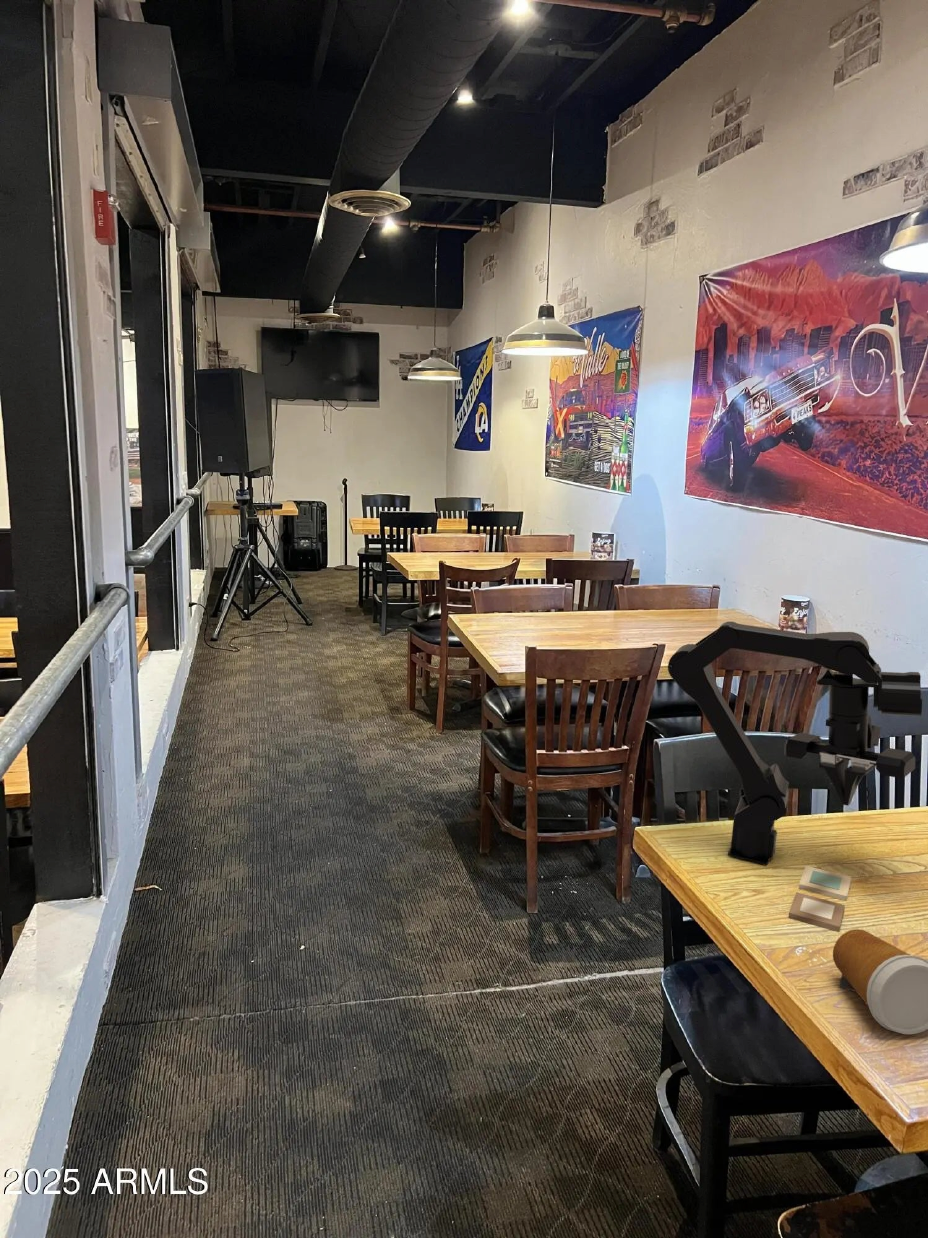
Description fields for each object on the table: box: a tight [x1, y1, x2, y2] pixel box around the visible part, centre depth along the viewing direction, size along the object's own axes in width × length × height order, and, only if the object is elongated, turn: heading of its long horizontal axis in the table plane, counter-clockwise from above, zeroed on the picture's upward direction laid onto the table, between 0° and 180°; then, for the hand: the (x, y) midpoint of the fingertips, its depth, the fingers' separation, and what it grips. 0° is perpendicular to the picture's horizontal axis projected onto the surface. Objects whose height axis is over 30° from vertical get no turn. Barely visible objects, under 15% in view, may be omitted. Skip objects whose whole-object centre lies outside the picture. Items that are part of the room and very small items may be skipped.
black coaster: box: [839, 973, 857, 993], centre depth 110 cm, size 4×4×1 cm
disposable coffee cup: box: [832, 928, 928, 1035], centre depth 105 cm, size 10×10×12 cm
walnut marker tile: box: [787, 891, 846, 932], centre depth 127 cm, size 7×7×1 cm
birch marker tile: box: [798, 865, 852, 902], centre depth 135 cm, size 7×7×1 cm
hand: (846, 804), depth 137 cm, fingers closed
